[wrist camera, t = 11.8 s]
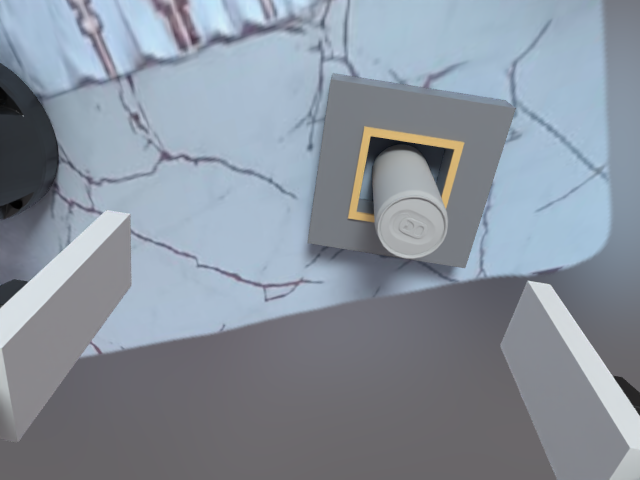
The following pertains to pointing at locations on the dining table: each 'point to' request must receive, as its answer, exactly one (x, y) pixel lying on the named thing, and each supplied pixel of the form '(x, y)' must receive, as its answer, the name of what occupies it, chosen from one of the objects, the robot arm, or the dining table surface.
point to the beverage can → (407, 203)
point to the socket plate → (416, 127)
